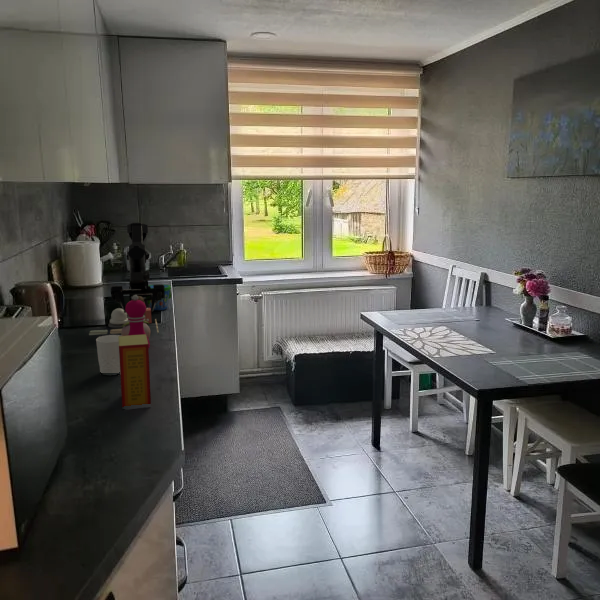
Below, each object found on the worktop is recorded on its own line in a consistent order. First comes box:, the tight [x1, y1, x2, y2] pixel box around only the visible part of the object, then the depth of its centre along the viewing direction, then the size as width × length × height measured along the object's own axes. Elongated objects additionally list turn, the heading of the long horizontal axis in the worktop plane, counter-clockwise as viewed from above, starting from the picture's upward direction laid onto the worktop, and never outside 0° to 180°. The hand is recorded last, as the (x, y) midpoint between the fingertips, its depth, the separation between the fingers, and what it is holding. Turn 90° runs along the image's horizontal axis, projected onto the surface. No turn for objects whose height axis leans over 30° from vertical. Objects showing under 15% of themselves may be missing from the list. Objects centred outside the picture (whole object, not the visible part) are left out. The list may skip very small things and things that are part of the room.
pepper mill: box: [125, 295, 151, 349], centre depth 163 cm, size 7×7×20 cm
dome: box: [109, 307, 129, 324], centre depth 201 cm, size 7×7×6 cm
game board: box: [88, 318, 160, 336], centre depth 199 cm, size 20×25×2 cm
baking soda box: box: [118, 334, 152, 408], centre depth 131 cm, size 10×6×16 cm
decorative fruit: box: [120, 321, 151, 339], centre depth 175 cm, size 9×8×10 cm
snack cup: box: [148, 284, 172, 311], centre depth 234 cm, size 16×10×10 cm
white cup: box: [95, 334, 122, 373], centre depth 152 cm, size 8×8×10 cm
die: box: [145, 307, 153, 324], centre depth 206 cm, size 5×5×5 cm
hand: (138, 311), depth 192 cm, fingers open, 9 cm apart
